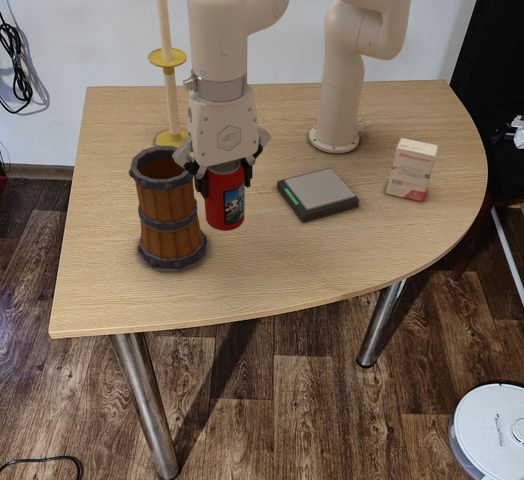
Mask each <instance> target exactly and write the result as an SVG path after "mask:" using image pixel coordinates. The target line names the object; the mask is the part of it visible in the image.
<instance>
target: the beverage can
mask: <svg viewBox="0 0 524 480" xmlns="http://www.w3.org/2000/svg"><path fill="white" fill-rule="evenodd" d="M204 174H205V176H206V177H207V184H208V197H207V198H206V199H204V198H203V200H204V201H203V202H204V213H205V221H206V223H207V224H208V225H209V227H211V228H212V229H214V230H217V231H221V232H228V231H234V230H235V229H238V228H240V227H241V226H242V225H243V224H244V221H245V212H246V211H245V209H246V208H245V207H246V206H245V205H246V204H245V203H246V202H245V200H246V198H245V197H246V196H245V193H246V192H245V191H246V190H245V189H246V187H245V177H244V168H243V166H242V164H241V163H240V160H239V159H237V160H233V161H229V162H225V163H221V164H217V165H212V166H207V169H206V171H205V173H204Z"/></svg>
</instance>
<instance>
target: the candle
mask: <svg viewBox="0 0 524 480" xmlns="http://www.w3.org/2000/svg"><path fill="white" fill-rule="evenodd" d="M156 8H157V17H158V27H159V36H160V37H159V38H160V46H161V48H157V49H154V50H152V51H151V52H149V53H148V56H147V60H148V61H149V63H150V64H151V65H153V66H154V67H158V68H162V73H163V81H164V82H163V83H164V91H165V92H164V93H165V100H166V110H167V118H168V128H169V129H166V130H164V131H162V132H160V133H159V134H158V135H157V136H156V138H155V146H174V147H177V148H178V147H179V146H180V145H181V144H182V143H183V142H184V140H185V139H186V138H187V129H182V128H181V127H180V125H181V124H180V115H179V104H178V103H179V102H178V94H177V93H178V91H177V82H176V72H175V68H176V67H179V66H182V65H183V64H185V63H186V62H187V61H188V59H187V58H188V55H187V54H186V52H185V51H184V50H181V49H179V48H175V47H173V46H172V37H171V27H170V15H169V5H168V0H156Z"/></svg>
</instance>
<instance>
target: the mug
mask: <svg viewBox="0 0 524 480" xmlns="http://www.w3.org/2000/svg"><path fill="white" fill-rule="evenodd" d="M177 149H178V148H177V147H174V146H157V145H155V146H151V147H147V148H144V149H142V150H141V151H139V152H138V153H137V154H136V155H134V156H133V157H132V159H131V163H130V168H129V170H128V176H129V177H130V178H132V179H133V180H134V182H135V187H136V194H137V199H138V207H137V211H138V217H139V219H140V236H139V237H140V238H139V241H138V245H137V246H136V249H137V255H138V256H139V258H140V259H141V261H142V262H143V264H144V265H145V266H146V267H148V268H150V269H153V270H155V271H158V272H159V273H182V272H185V271H187V270H190V269H192V268H195V267H197V266H198V265H199V264H200V263H201V262H202V261H203V260H204V258H205V257H207V255H208V244H209V243H208V236H207V235H206V233H204V232H203V230H202V229H201V224H200V219H199V214H198V201H197V199H196V197H195V185H194V175H193V174H191V173H190V172H188V171H186V170H185V169H184V168H183V167H181V166H180V165H178V164H177V163H176V162H175V161H174V159H173V158H172V154H173V153H174V152H175V151H176V150H177ZM186 158H187V159H189V160H190V161H192V160H193V158H194V157H192V155H191V154H190V153H189V154H188V155H187V156H186Z"/></svg>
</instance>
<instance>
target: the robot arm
mask: <svg viewBox="0 0 524 480" xmlns="http://www.w3.org/2000/svg"><path fill="white" fill-rule="evenodd" d="M411 3H412V0H334V1H333V2H331V3H330V5H329V6H328V8H327V10H326V12H325V14H324V15H325V16H324V21H323V38H324V39H323V41H324V56H323V67H322V77H321V85H320V92H319V102H318V111H317V116H316V117H317V118H316V125H314V126H313V127H312V128H311V129H310V130H309V132H308V141H309V143H310V144H311V145H312V146H313V147H314V148H316V149H317V150H319V151H322V152H325V153H328V154H344V153H348V152H351V151H353V150H354V149H356V148H357V146H359V142H360V135H359V133H360V132H362V131H365V130H370V129H372V126H373V125H372V124H373V123H372V121H371V120H365V121H363V119H362V117H358V114H359V108H360V101H361V96H362V90H363V85H364V81H365V79H364V78H365V73H366V69H365V62H364V59H363V57H362V56H366V57H369V58H372V59H376V60H382V61H391V60H393V59H395V58H397V56H399V54H400V53H401V51H402V48H403V46H404V44H405V40H406V37H407V31H408V24H409V17H410V10H411ZM289 4H290V0H186V8H187V23H188V35H189V46H190V47H189V48H190V59H191V69H190V77H188V78H187V79H183V80H182V85H183V89H184V91H187V92H188V91H189V95H188V101H187V115H186V116H187V117H186V127H187V128H186V131H187V138H186V139H185V140H184V142H183V143H182V144H181V145H180V146H179V147H178V149H177V150H176V151H175V152H174V153H173V154H172V158H173V159H174V161H175V162H176V163H177V164H178V165H180V166H181V167H183V168H184V169H185V170H186V171H188V172H190V173H191V174H193V175H194V177H193V184H194V190H195V191H196V193H197V194H198V193H200V195H201V197H202V199H203V200H204V199H206V198H207V197H208V184H207V177H206V176H205V174H204V173H205V171H206V169H207V166H212V165H217V164H221V163H225V162H229V161H233V160H237V159H239V160H240V163H241V164H242V166H243V168H244V177H245V188H250V187H251V179H253V173H254V172H253V171H254V170H253V168H254V167H253V166H255V164H256V161H257V159H258V157H259V156H260V155H261V154H262V153H263V152H264V148H265V147H266V146H267V145H268V143H269V142H270V140H272V139H271V138H272V136H271V134H270V133H269V132H268V131H267V130H266V129H265V128H263V127H261V126H260V125H259V124H258V114H257V105H256V99H255V98H256V97H255V94H254V89H253V88H252V86H250V85H249V83H248V37H249V36H251V35H254V34H255V33H258V32H260V31H264V30H266V29H269V28H270V27H272V26H274V25H275V24H277V22H279V20H281V19H282V17H283V15H284V14H285V13H286V11H287V10H288V6H289ZM190 153H193V157H192V158H193V160H192V161H190V160H189V159H187V158H186V156H187V155H188V154H190Z"/></svg>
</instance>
